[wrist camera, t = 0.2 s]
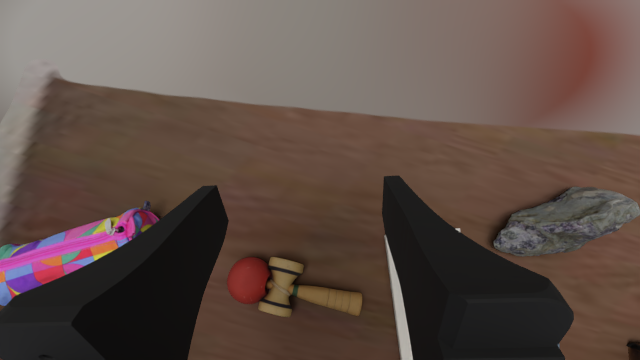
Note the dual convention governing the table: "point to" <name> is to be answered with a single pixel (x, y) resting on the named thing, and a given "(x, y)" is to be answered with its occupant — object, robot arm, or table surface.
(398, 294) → the pin board
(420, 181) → the table surface
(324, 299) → the kendama
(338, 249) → the table surface
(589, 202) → the mineral rock
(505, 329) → the robot arm
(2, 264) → the pencil case
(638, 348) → the sunglasses case
